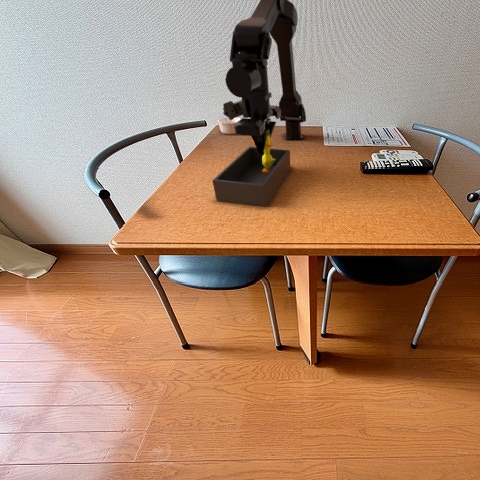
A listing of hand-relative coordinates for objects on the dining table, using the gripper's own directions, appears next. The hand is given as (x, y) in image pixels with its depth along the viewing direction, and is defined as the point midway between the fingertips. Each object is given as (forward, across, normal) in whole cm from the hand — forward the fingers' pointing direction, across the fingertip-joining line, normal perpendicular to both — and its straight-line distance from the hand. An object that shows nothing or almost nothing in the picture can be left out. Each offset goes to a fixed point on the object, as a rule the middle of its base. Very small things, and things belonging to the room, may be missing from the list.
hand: (262, 151), depth 79 cm
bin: (+6, +6, 0) cm, 9 cm away
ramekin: (+7, -35, -25) cm, 43 cm away
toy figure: (+6, 0, 0) cm, 6 cm away
